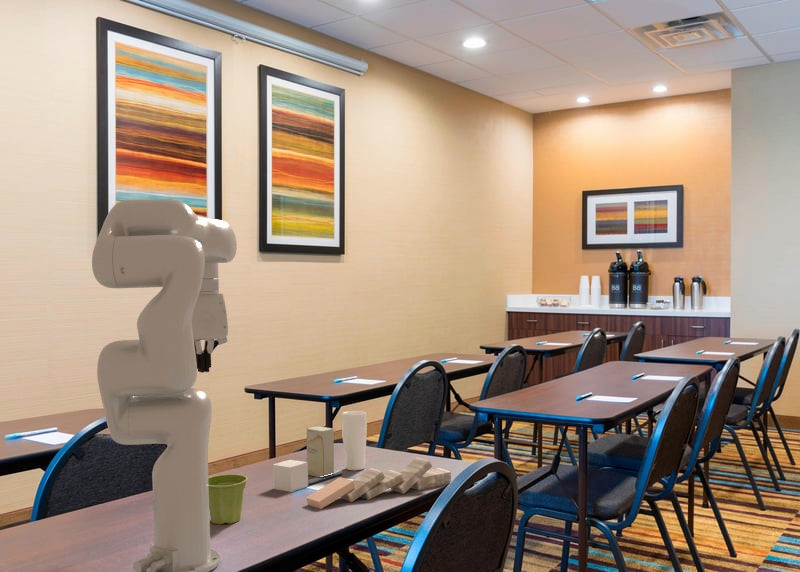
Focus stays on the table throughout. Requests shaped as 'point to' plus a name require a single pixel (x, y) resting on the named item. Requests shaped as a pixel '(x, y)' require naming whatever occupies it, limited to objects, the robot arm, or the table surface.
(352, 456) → the drinking glass
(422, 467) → the domino
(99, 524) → the table surface
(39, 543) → the table surface
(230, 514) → the plant pot
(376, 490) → the domino
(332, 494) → the domino
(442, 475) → the domino
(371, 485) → the domino
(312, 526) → the table surface
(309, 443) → the skincare box
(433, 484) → the domino
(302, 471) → the white cube
